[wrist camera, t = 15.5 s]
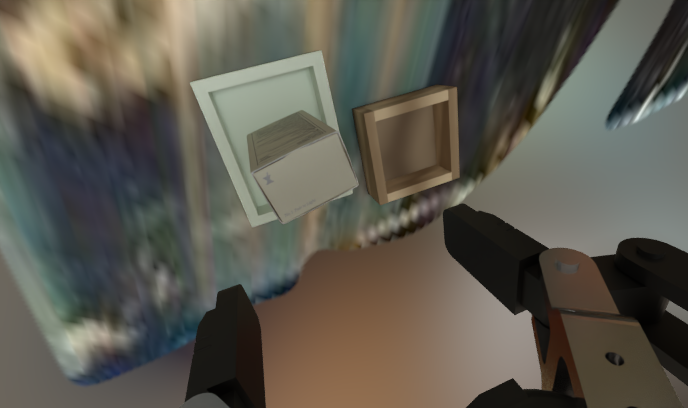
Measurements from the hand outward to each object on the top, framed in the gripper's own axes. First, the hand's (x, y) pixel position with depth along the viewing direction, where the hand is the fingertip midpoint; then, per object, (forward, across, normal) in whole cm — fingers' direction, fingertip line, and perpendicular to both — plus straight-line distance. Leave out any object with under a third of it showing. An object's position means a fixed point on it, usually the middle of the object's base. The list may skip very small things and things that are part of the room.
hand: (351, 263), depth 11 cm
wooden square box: (+22, -12, +4) cm, 26 cm away
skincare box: (+22, 0, 0) cm, 22 cm away
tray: (+22, 0, 0) cm, 22 cm away
